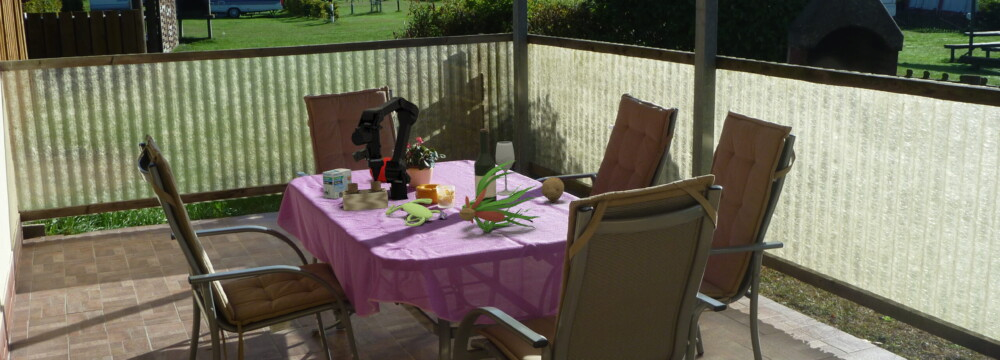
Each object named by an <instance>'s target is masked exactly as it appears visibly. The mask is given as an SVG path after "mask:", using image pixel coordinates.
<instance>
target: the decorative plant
mask: <svg viewBox="0 0 1000 360" xmlns="http://www.w3.org/2000/svg"><path fill="white" fill-rule="evenodd" d="M506 159H507V158H506ZM500 162H501V161H500ZM510 162H513V161H509V162H506V163H504V164H501V165H499V166H498V165H497V163H495V168H493V169H492V170H490V171H489V172H488V173H487V174H486V175H485V176H484V177H483V178H482V177H481V178H482V179H480V180H481V181H479V183H478V187H477V198H474V199H473V200H470V197H469V196H467V195H465V196H464V197H465V198H464V202H465V204H463V205H462V207H461V210H459V214H458V215H459V217H460V219H461V220H464V221H465V222H470V223H471V224H472V225H473V224H474V219H475V221H476V224H477V226H478V228H479V229H480V230H482V231H483V232H484V233H489V232H490V231H491V230H492V229H493V228H505V226H506V227H509V226H513V225H517V226H521V227H526V228H527V227H528V228H533V229H534V230H535V229H537V227H535V226H534V225H529V224H524V223H521V222H520V221H521V220H525V221H528V222H530V223H532V224H533V223H534V221H533V219H537V218H540V216H537V215H533V216H531V215H525V214H523V213H527V212H528V211H530V210H532V209H533V207H532V208H527V209H526V210H525V211H523V209H522V207H521V208H520V209H518V210H517V211H513V210H512V211H510V209H511V208H514V207H516V206H518V205H519V204H522V203H523V202H528V201H529V200H531V201H533V200H535V199H536V197H531V196H530V197H526V198H524V199H521V200H520V197H522V196H523V195H524V194H526V192H528V191H529V190H531V189H533V188H536V187H537V184H535V185H533V186H530V187H526V188H524V189H522V190H518V189H519V188H520V186H522V184H520V185H519V186H517V187H516V189H515V190H513V192H512V193H511V194H510V195H508V196H507V197H506V198H502V199H499V200H497V201H494V202H490V203H487V202H489V201H491V200H493V199H489V200H485V201H482V200H483V199H485V198H487V197H491V196H487V197H484V196H485V193H487V192H486V190H487V186H488V185H489V184H490V183H491V182H492V181H494V180H496V181H497V180H499V179H503V178H504V179H505V175H510V174H517V172H514V171H507V170H508V169H509V168H510V167H511V166H513V165H514V164H515V163H516V162H518V160H517V159H516V160H515V159H514V162H513V163H512V165H511V166H510V167H509V168H508V169H507V168H501V167H503V166H505V165H506V164H508V163H510ZM498 163H499V162H498ZM493 166H494V165H493ZM493 166H492V167H493ZM511 168H512V167H511ZM511 168H510V169H511ZM489 169H490V168H489ZM489 169H488V170H489ZM503 169H507V170H506V171H507V173H504V171H503ZM510 169H509V170H510ZM501 171H503V172H501ZM499 172H501V173H499ZM495 173H496V176H494V177H493V178H491V179H490V180H489V181H487V179H488V178H489V177H490V176H492V175H493V174H495ZM497 173H499V174H497ZM484 174H485V173H484ZM509 178H511V177H510V176H509ZM512 178H513V176H512ZM512 178H511V179H512ZM530 180H531V179H529V180H527V182H529V181H530ZM486 181H487V182H486ZM527 182H526V183H527ZM517 190H518V191H517ZM514 192H515V193H514ZM513 193H514V194H513ZM512 194H513V195H512ZM539 198H540V196H538V197H537V199H539ZM517 200H518V201H517ZM485 203H487V204H485ZM481 205H482V206H481ZM478 207H479V208H478ZM514 212H515V213H514ZM516 219H520V220H518V221H515V220H516ZM481 220H483V222H482V221H481Z"/></svg>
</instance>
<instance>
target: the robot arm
mask: <svg viewBox="0 0 1000 360" xmlns="http://www.w3.org/2000/svg"><path fill="white" fill-rule="evenodd" d="M393 112H395V113H396V114H397V116H396V119H397V121H398V125H399V126H398V130H397V133H396V134H397V135H396V139H395V143H394V148H393V152H392V157H391V158H392V159H391V160H390V161H388V160H387V161H386V166H385V169H384V170H385V172H384V175H385V178H386V182H385V183H386V184H390V186H389V188H388V189H389V198H391V200H393V201H396V200H406V199H409V197H408V185H409V184H410V183H411V180H412V177H411V176H410V174H409V173H408V172H407V170H408V169H407V168H408V166H407V165H406V162H405V158H406V154H407V150H408V144H409V139H410V135H411V130H412V127H413V126H414V125H415V123H416V122H417V120H418V118H419V115H420V108H419V107H418V105H417V104H415V103H413V102H412V101H409V100H408V99H406V98H405V97H402V96H392V97H391V98H390V99H389V100H387V101H385V102H384V103H382V104H380V105H378V106H377V107H371V108H370V107H369V108H367V109H364V110H363V111H362V114H361V116H360V118H359V120H358V121H359V122H358V124H357V127H355V128H354V131H353V133H352V134H351V137H350V141H351V142H352V144H353V145H355V146H357V147H359V146H362V145H364V148H362V149H358V150H357V151H354V152H353V153H351V155H352V158H353V160H354V163H358V162H360V161H361V160H365V161H366V166H367V167H368V168H371V171H372V174H373V178H374V179H373V178H372V179H373V182H374V181H377V180H378V177H379V174H380V171H381V169H382V166H384V160H383V159H382V156H383V155H382V141H381V140H382V139H381V130H383V129H384V127H383V125H381V124H382V123H383V122H384V120H385V117H386V116H388V115H391V114H392V113H393Z"/></svg>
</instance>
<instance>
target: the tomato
mask: <svg viewBox="0 0 1000 360" xmlns="http://www.w3.org/2000/svg"><path fill="white" fill-rule="evenodd" d="M382 159H383V160H384V166H382V169H381V171H380V174H379V177H378V180H377V181H380V182H381V183H383V182H385V183H387V182H386V178H385V175H384V172H385V170H384V169H385V166H386V161H387V160H388V161H390V160H391V159H392V157H389V156H386V157H385V156H383V155H382ZM368 168H369V167H368ZM369 174H370V177H371V178H372V179H373V180H374V178H373V174H372V171H371V168H369Z"/></svg>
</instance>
